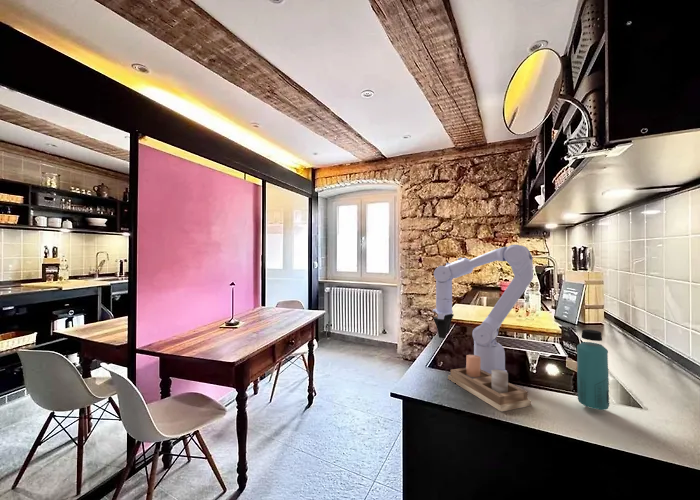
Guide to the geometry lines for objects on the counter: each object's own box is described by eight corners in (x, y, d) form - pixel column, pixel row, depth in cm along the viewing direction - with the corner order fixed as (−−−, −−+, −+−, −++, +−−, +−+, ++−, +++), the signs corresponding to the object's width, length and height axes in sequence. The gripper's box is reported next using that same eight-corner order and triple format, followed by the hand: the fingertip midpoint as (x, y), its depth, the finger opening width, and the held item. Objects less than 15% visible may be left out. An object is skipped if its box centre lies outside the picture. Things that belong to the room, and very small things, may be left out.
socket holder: (474, 375, 99) (474, 353, 99) (531, 405, 79) (531, 377, 80) (448, 379, 96) (448, 356, 96) (501, 411, 76) (501, 382, 76)
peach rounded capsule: (474, 376, 95) (474, 354, 95) (483, 381, 91) (483, 358, 91) (463, 378, 94) (463, 355, 94) (472, 383, 90) (472, 359, 90)
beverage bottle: (612, 419, 73) (611, 335, 73) (577, 411, 76) (577, 331, 77) (607, 407, 78) (606, 329, 79) (575, 401, 82) (574, 326, 82)
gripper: (436, 295, 121) (436, 329, 121) (429, 300, 108) (428, 338, 108) (455, 296, 118) (455, 331, 118) (449, 301, 105) (449, 341, 105)
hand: (443, 335), depth 113 cm, fingers open, 7 cm apart
